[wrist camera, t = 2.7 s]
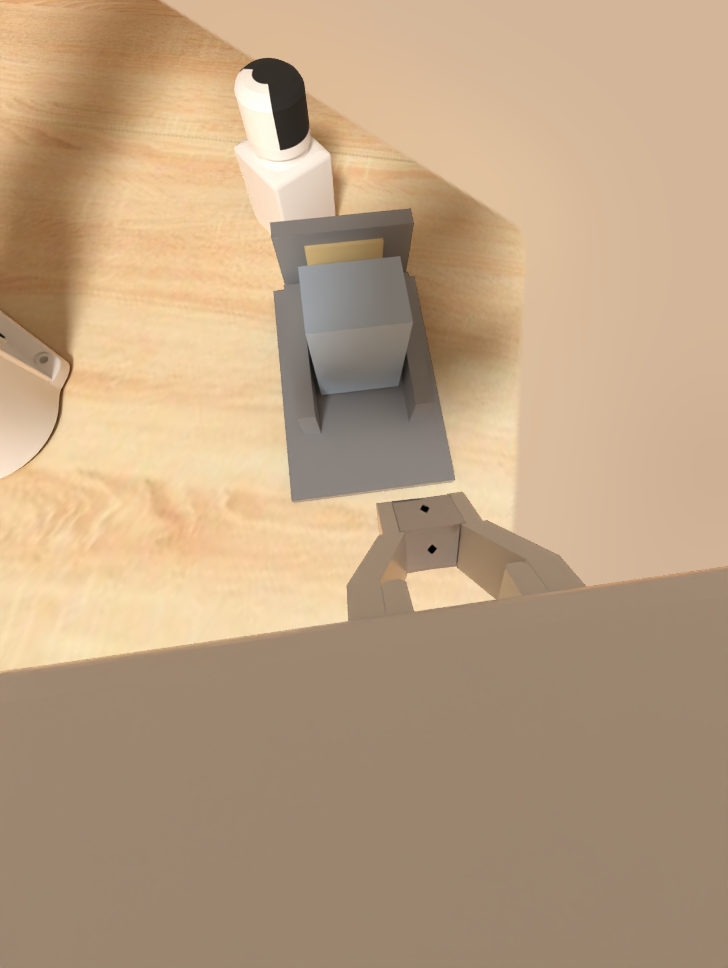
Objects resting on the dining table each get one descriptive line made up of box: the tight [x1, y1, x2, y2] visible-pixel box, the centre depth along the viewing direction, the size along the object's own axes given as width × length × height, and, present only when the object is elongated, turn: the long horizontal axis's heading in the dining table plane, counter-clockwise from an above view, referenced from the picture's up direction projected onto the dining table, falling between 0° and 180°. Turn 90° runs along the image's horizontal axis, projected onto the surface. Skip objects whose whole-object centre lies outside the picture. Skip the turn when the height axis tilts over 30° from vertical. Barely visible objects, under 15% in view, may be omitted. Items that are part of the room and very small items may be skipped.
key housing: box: [270, 209, 455, 503], centre depth 28 cm, size 24×16×9 cm, turn 8°
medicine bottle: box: [234, 58, 336, 235], centre depth 31 cm, size 7×7×12 cm
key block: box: [298, 256, 413, 395], centre depth 27 cm, size 6×8×9 cm
